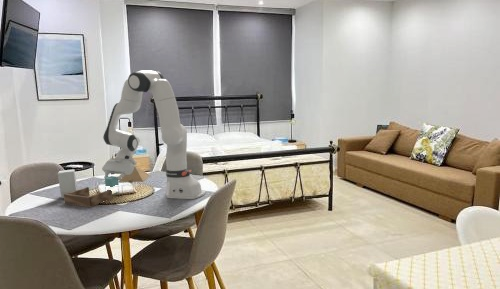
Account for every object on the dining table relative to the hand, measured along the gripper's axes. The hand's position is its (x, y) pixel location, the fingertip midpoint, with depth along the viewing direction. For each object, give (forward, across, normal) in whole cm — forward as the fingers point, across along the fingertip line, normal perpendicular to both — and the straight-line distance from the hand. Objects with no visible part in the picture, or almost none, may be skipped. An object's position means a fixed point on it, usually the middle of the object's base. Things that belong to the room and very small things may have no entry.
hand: (111, 179), depth 206 cm
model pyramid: (-15, -11, +28) cm, 33 cm away
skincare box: (+16, -18, -4) cm, 24 cm away
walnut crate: (+18, 0, -7) cm, 19 cm away
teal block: (+6, 0, +5) cm, 8 cm away
